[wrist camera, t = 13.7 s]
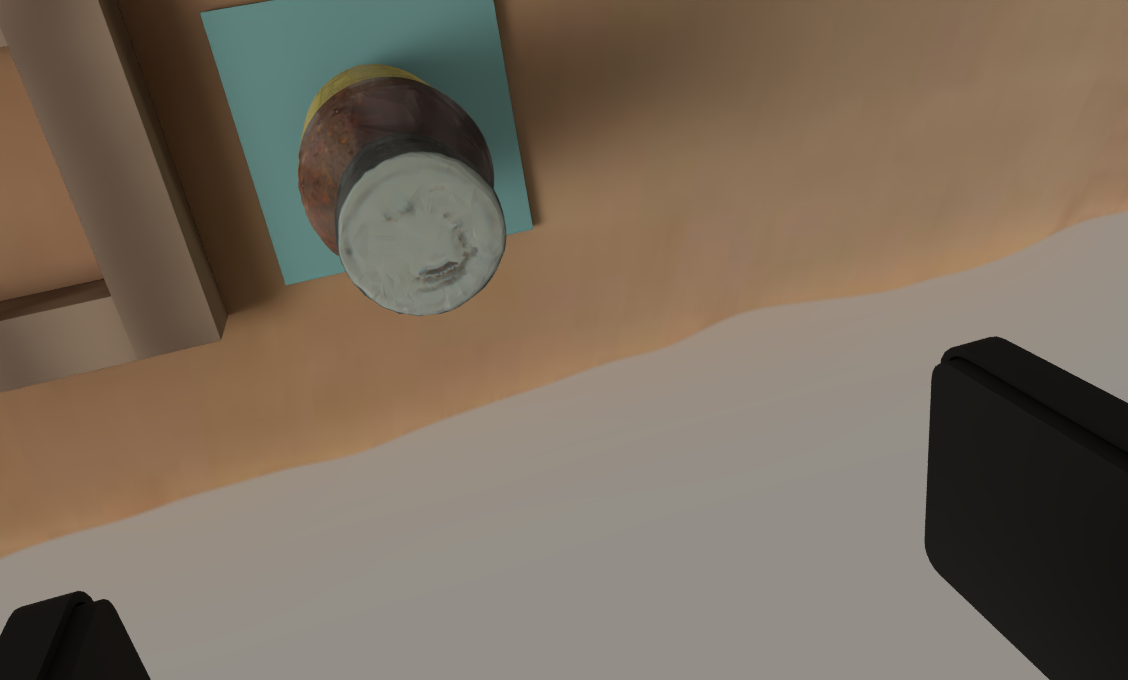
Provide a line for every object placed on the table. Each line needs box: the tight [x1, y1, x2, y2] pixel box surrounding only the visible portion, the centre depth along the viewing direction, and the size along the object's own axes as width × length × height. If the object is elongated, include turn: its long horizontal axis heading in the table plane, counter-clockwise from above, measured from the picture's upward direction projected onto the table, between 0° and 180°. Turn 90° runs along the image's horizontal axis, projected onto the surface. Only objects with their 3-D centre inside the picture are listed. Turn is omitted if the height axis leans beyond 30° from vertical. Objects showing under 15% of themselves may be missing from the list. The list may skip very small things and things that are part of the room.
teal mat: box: [200, 0, 533, 285], centre depth 38 cm, size 12×12×1 cm
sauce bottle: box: [298, 64, 506, 316], centre depth 29 cm, size 6×6×20 cm
